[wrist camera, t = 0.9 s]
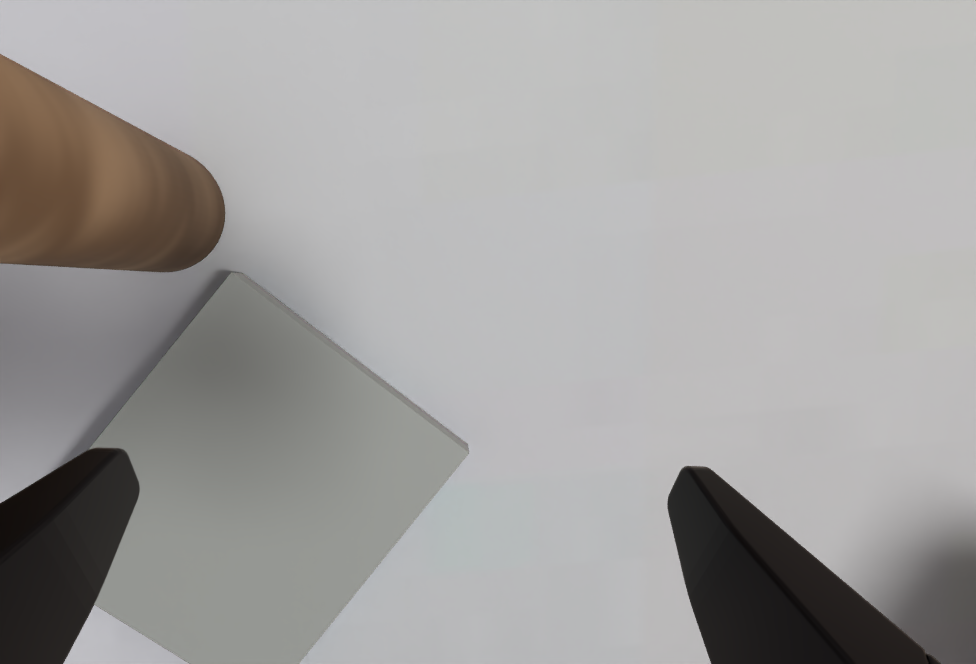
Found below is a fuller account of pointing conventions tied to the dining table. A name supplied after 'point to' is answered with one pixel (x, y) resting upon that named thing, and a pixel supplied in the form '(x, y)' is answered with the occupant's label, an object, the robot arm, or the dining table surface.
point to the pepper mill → (95, 186)
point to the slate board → (262, 483)
